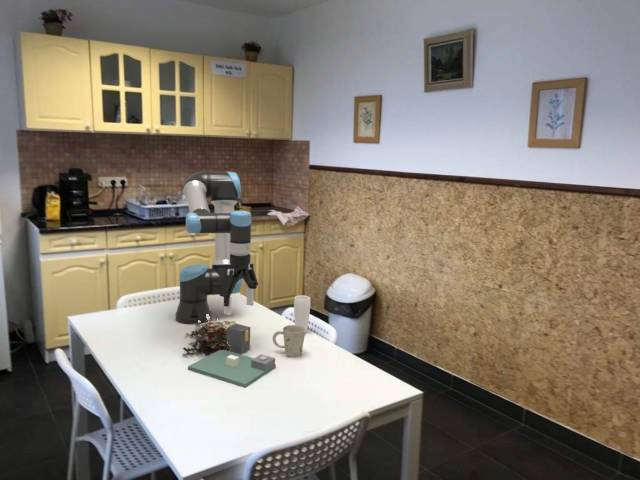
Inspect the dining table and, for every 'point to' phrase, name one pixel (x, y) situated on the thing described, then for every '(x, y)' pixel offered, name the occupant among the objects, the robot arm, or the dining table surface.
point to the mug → (291, 339)
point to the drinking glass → (302, 311)
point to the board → (234, 367)
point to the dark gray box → (238, 338)
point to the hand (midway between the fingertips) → (239, 309)
